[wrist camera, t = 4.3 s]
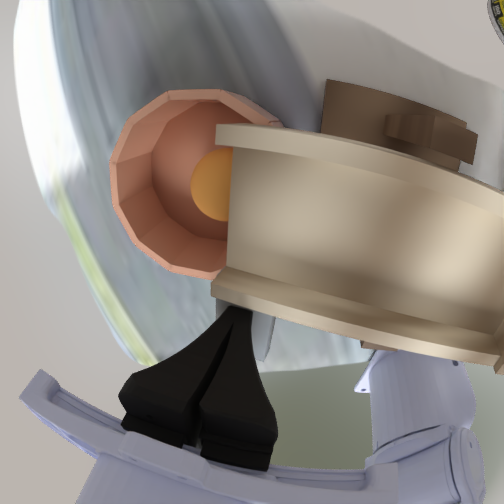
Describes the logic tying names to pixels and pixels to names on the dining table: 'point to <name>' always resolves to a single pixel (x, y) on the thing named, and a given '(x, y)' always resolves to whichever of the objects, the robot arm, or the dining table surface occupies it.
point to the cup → (175, 176)
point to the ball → (213, 183)
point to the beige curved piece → (362, 245)
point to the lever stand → (395, 129)
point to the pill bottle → (497, 16)
